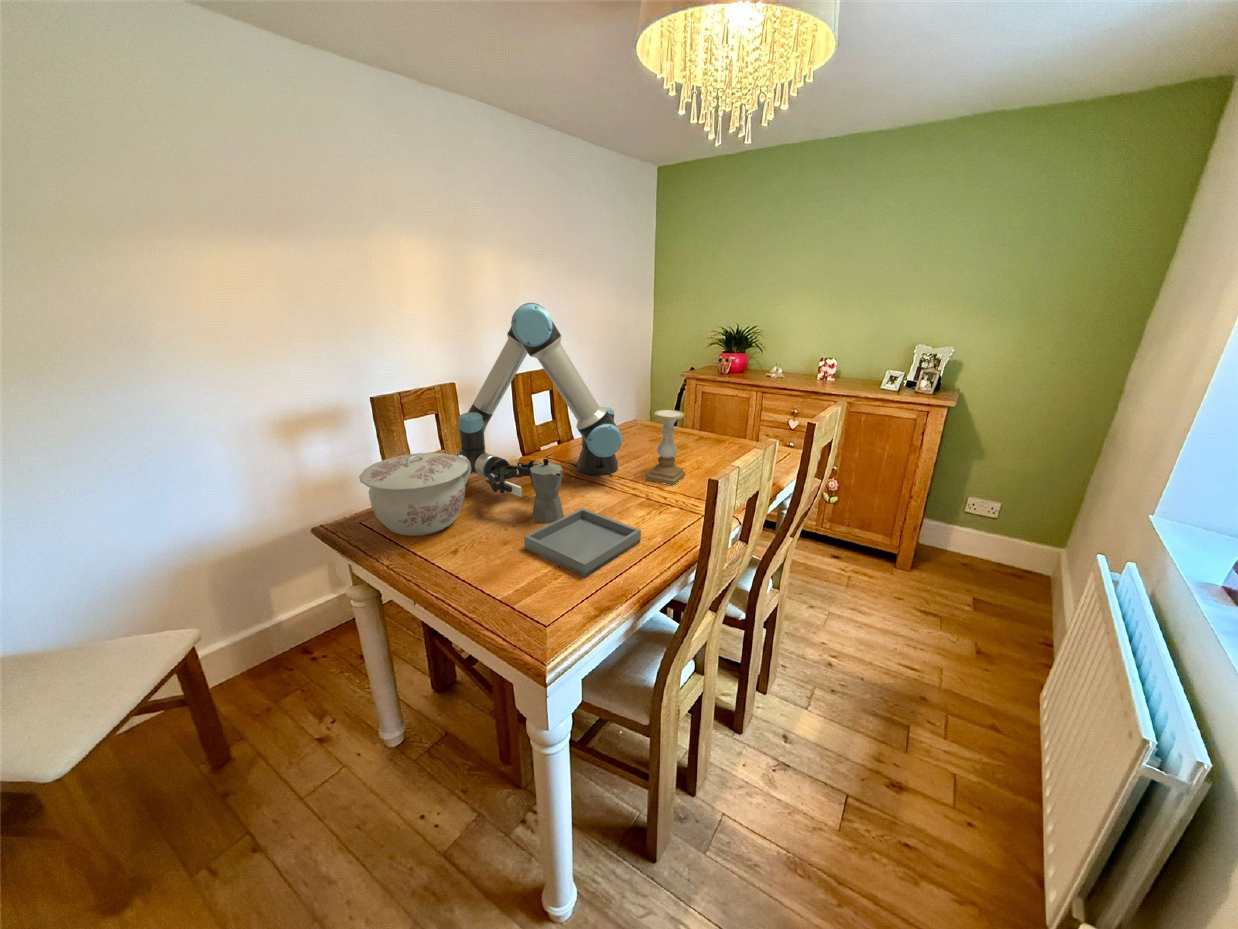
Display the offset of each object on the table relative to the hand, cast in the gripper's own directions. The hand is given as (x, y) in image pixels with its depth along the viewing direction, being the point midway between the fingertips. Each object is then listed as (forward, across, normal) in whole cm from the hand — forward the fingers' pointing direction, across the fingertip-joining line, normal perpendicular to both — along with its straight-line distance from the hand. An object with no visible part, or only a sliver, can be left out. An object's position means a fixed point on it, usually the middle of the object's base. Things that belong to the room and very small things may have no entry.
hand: (539, 484), depth 141 cm
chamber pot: (-20, +26, -10) cm, 34 cm away
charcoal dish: (+22, +5, -9) cm, 25 cm away
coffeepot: (+2, -1, -10) cm, 10 cm away
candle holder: (+12, -49, -10) cm, 51 cm away
